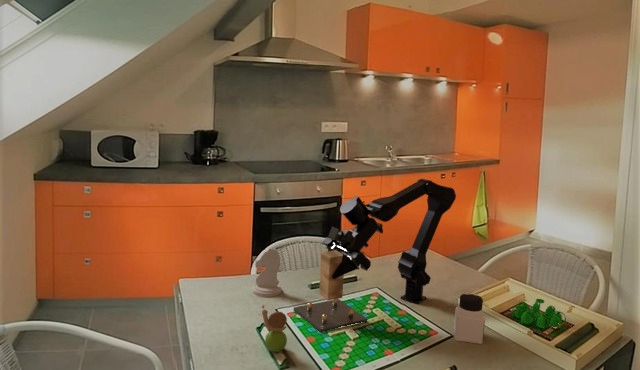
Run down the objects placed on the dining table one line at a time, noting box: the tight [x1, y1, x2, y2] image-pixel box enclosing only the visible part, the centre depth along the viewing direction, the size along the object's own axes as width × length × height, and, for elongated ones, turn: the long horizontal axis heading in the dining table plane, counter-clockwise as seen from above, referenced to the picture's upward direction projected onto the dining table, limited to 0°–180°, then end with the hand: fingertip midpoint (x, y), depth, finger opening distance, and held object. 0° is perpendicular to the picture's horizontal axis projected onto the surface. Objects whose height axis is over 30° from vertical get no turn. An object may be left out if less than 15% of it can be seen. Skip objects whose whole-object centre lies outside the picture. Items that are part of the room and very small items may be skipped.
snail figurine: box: [261, 304, 288, 353], centre depth 121 cm, size 5×6×12 cm
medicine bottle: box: [453, 292, 486, 345], centre depth 133 cm, size 7×7×12 cm
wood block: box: [318, 250, 345, 301], centre depth 141 cm, size 5×5×13 cm
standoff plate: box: [293, 298, 368, 333], centre depth 143 cm, size 16×16×3 cm
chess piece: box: [251, 247, 283, 298], centre depth 159 cm, size 10×10×15 cm
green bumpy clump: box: [511, 298, 567, 329], centre depth 145 cm, size 15×15×7 cm
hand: (327, 275), depth 140 cm, fingers closed on wood block, 5 cm apart
